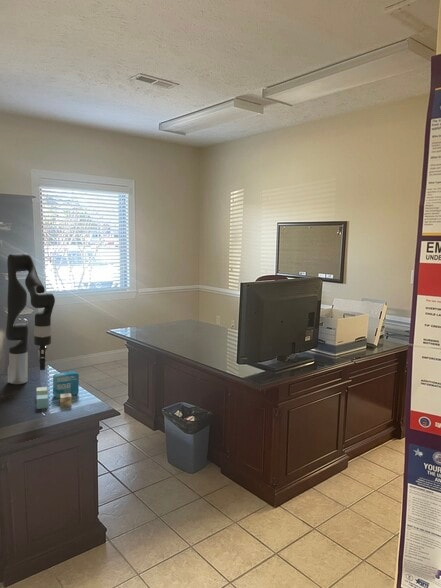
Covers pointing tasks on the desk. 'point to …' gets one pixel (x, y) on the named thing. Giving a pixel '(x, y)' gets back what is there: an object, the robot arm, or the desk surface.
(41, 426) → the desk surface
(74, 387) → the data package
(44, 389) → the sage block
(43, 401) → the teal block
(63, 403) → the maple block
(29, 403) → the desk surface
